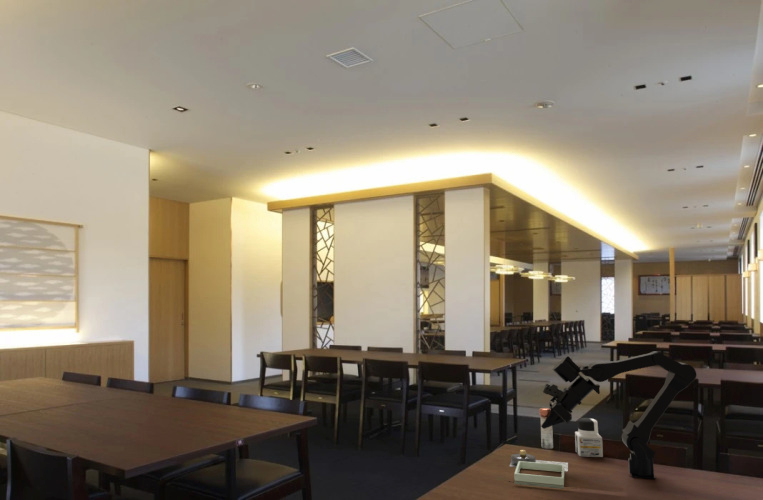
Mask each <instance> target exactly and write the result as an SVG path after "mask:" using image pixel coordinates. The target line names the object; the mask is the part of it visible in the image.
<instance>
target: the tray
mask: <svg viewBox="0 0 763 500" xmlns="http://www.w3.org/2000/svg"><path fill="white" fill-rule="evenodd" d="M521 469H523V470H526V469H527V470H537V471H548V472H557V473H561V476H552V475H551V476H550V475H540V474H538V475H537V474H529V473H520V471H521ZM513 474H514V476H513V477H514V485H522V486H531V487H532V486H533V487H541V488H551V489H561V490H564V489H565V471H564V465H559V464H548V463H536V462H524V461H518V464H517V467H515V471H514V473H513Z"/></svg>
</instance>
